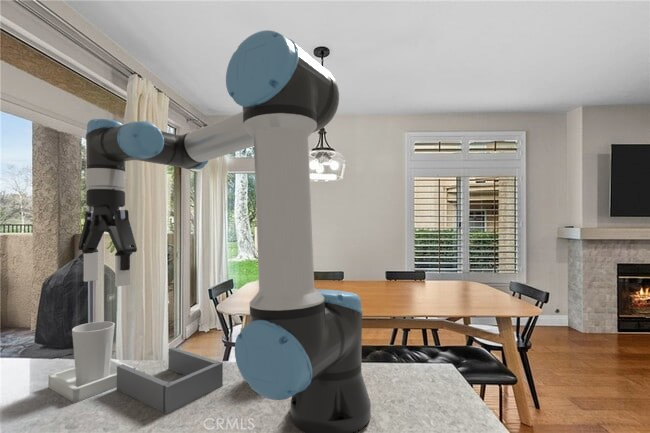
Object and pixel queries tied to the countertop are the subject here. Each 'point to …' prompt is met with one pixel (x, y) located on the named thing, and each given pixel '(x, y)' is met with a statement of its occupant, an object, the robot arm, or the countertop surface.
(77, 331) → the cup
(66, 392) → the tray
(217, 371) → the box
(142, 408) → the countertop surface
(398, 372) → the countertop surface
